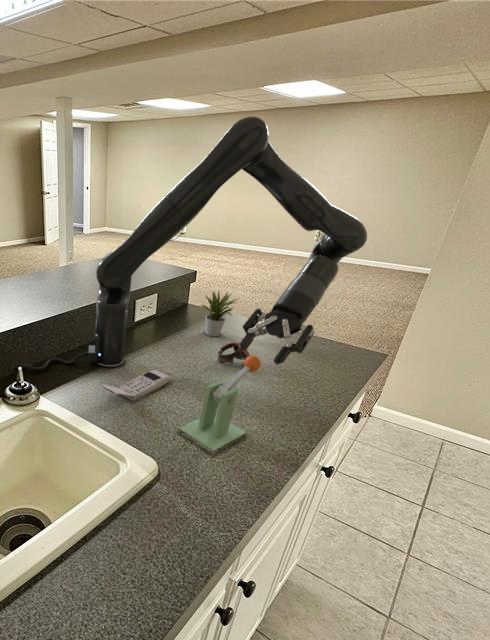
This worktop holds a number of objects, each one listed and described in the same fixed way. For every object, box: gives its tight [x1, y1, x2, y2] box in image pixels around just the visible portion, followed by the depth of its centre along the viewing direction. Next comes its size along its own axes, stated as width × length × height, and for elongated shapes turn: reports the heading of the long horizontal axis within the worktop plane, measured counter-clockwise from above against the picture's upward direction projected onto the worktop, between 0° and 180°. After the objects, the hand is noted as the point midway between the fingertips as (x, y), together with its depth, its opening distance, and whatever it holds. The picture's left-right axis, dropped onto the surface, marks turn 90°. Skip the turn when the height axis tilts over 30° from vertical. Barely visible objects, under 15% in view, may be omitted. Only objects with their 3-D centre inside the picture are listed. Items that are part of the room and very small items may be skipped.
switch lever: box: [212, 355, 262, 404], centre depth 90 cm, size 14×4×4 cm, turn 125°
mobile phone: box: [101, 369, 173, 402], centre depth 109 cm, size 6×6×25 cm
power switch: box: [178, 380, 248, 452], centre depth 91 cm, size 12×10×13 cm
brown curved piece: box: [217, 341, 251, 365], centre depth 127 cm, size 12×10×8 cm
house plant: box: [200, 289, 238, 337], centre depth 144 cm, size 14×14×16 cm
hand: (258, 355), depth 92 cm, fingers open, 8 cm apart
